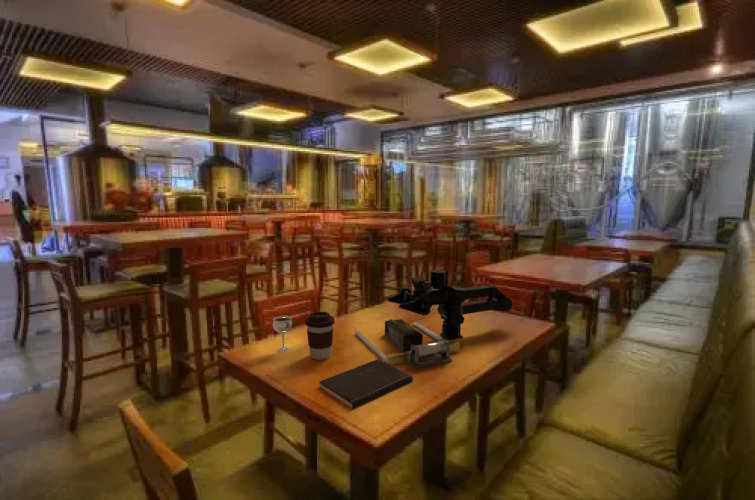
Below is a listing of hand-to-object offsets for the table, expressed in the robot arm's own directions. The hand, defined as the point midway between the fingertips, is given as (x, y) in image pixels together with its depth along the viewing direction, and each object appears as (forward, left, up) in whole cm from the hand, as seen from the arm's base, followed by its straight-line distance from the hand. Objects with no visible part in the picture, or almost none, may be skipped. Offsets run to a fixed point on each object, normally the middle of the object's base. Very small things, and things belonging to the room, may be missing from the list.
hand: (393, 303), depth 143 cm
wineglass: (+38, -13, -17) cm, 43 cm away
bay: (-5, -2, -17) cm, 18 cm away
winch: (-5, +17, -16) cm, 24 cm away
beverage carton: (-5, -3, -17) cm, 18 cm away
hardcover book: (+20, +22, -17) cm, 34 cm away
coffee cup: (+27, -3, -17) cm, 32 cm away
